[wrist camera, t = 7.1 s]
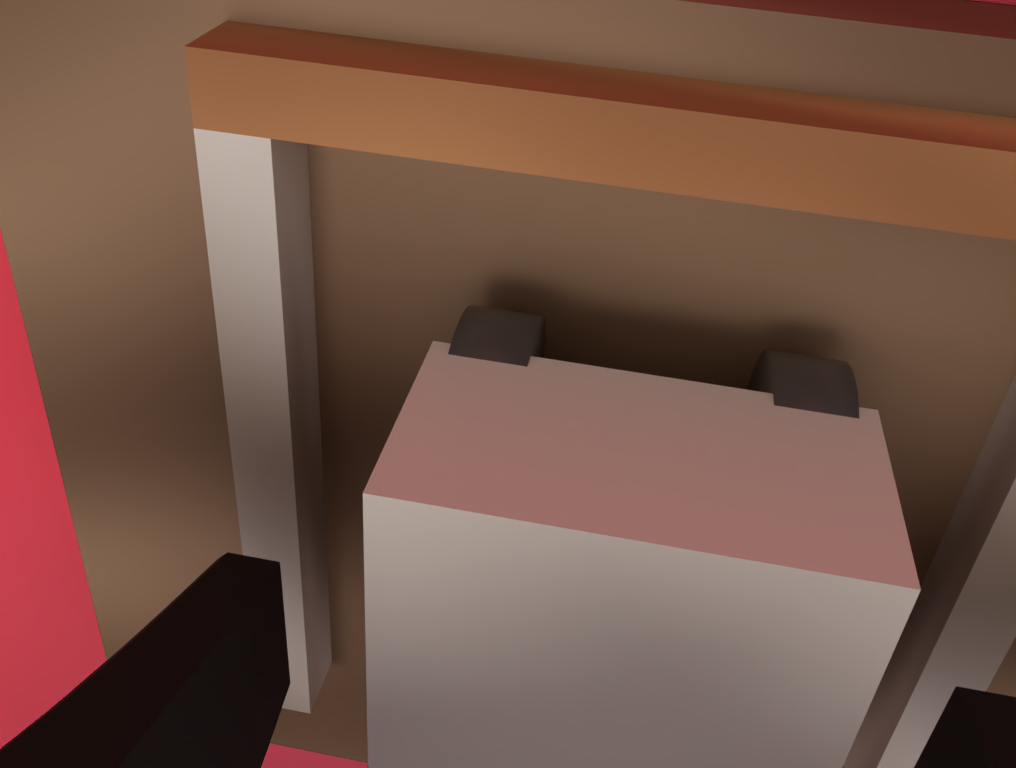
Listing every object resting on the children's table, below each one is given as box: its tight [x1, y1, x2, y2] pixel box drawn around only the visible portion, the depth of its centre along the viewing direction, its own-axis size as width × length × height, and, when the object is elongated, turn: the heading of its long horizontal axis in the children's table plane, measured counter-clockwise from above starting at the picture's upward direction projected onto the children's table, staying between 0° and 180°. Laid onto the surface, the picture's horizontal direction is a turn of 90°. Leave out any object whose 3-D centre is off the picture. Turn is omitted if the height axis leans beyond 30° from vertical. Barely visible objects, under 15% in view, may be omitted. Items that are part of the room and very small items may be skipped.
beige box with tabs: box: [363, 305, 921, 768], centre depth 12 cm, size 8×4×4 cm, turn 176°
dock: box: [0, 0, 1016, 768], centre depth 13 cm, size 14×16×2 cm
